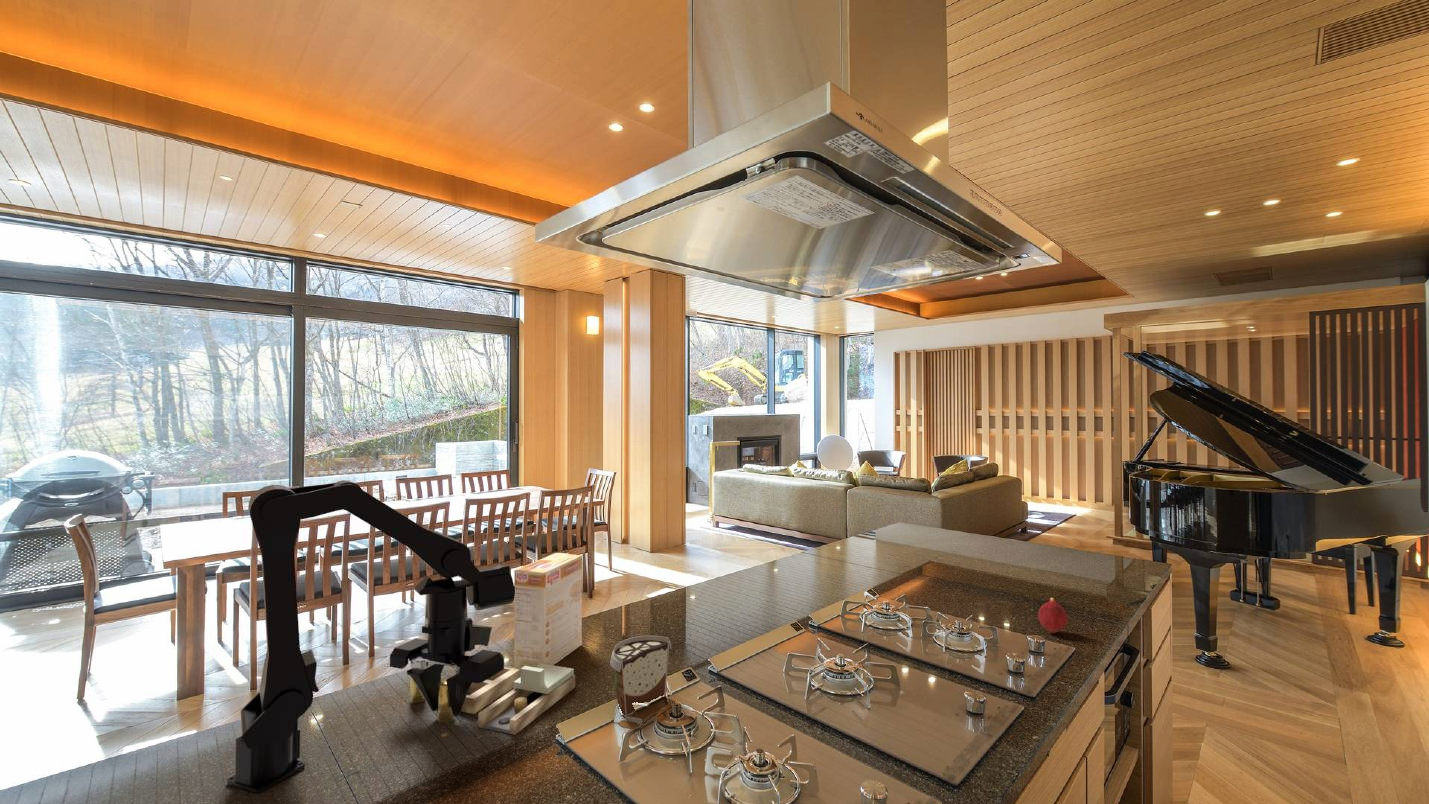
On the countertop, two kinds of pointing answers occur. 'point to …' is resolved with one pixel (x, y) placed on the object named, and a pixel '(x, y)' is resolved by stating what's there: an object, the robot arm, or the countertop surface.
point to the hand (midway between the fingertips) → (446, 712)
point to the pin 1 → (415, 693)
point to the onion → (1052, 616)
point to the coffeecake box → (547, 610)
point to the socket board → (489, 690)
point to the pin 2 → (444, 704)
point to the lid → (542, 678)
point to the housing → (520, 708)
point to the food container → (640, 670)
